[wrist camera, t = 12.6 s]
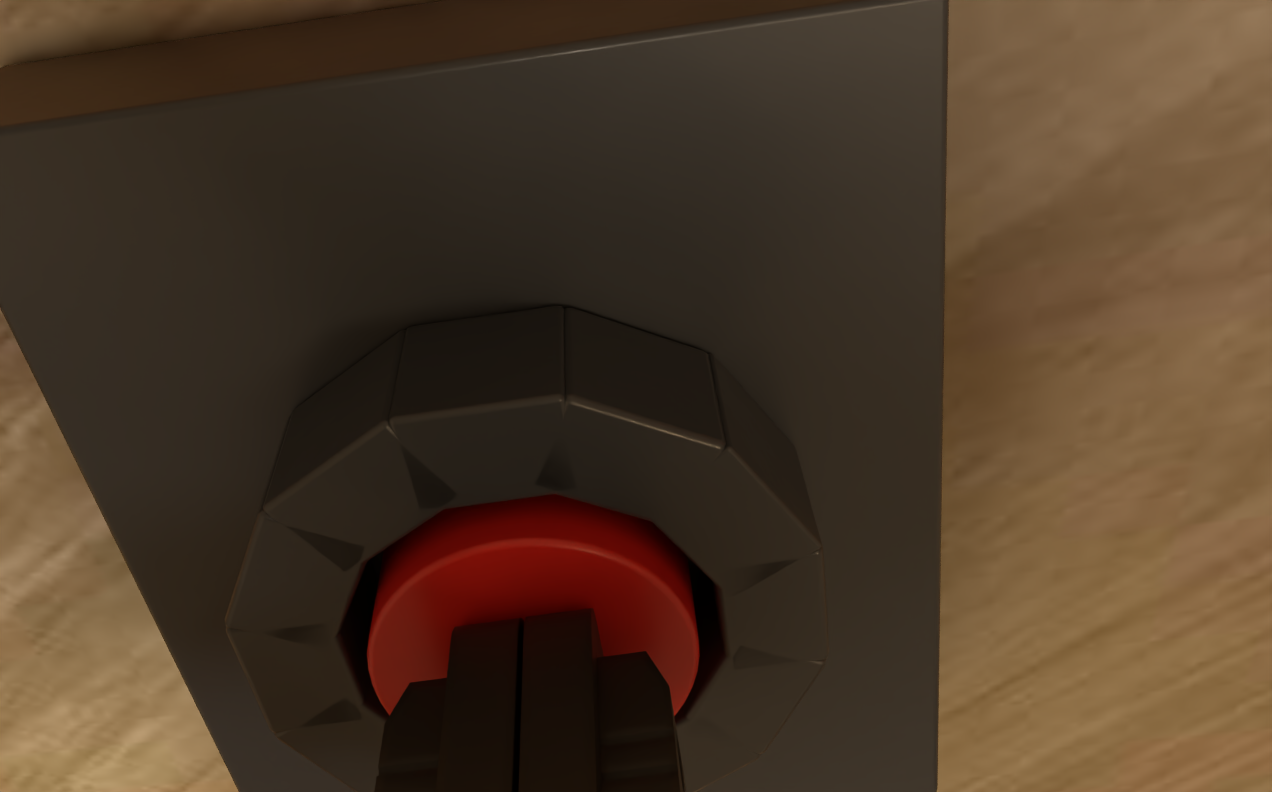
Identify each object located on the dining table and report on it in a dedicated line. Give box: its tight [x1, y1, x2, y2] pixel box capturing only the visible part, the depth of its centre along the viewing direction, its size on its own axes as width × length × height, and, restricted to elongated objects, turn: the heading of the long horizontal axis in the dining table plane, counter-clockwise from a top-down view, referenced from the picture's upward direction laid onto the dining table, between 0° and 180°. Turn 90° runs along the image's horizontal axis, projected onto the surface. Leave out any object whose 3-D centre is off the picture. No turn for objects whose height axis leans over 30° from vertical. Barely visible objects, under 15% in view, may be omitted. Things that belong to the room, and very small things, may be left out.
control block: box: [0, 0, 949, 792], centre depth 15 cm, size 12×10×4 cm
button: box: [367, 494, 700, 716], centre depth 14 cm, size 4×4×2 cm
